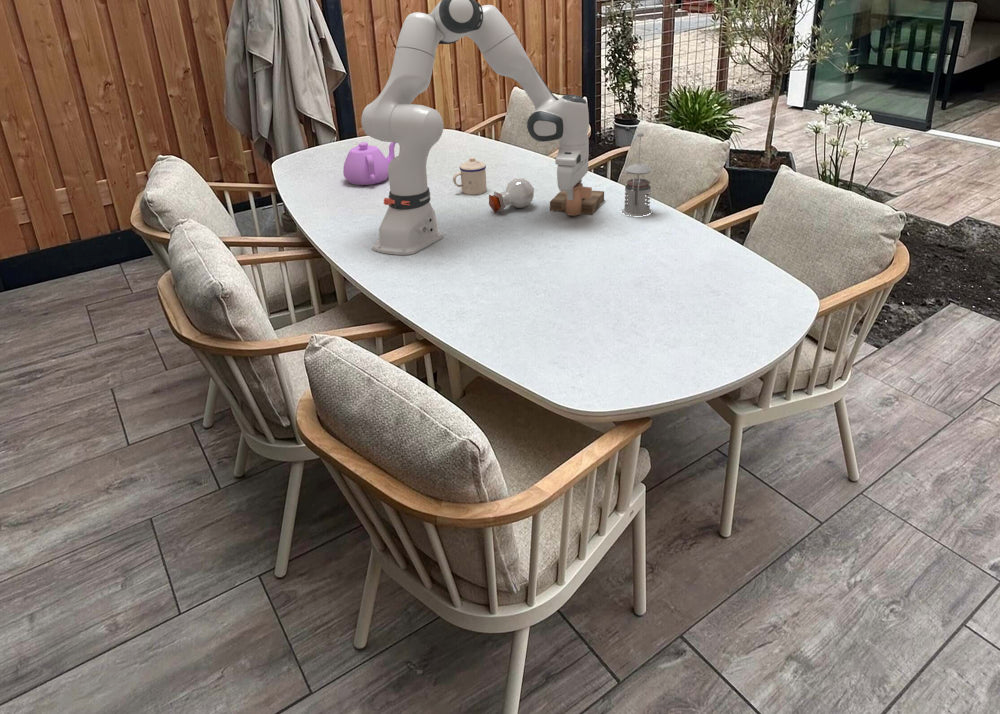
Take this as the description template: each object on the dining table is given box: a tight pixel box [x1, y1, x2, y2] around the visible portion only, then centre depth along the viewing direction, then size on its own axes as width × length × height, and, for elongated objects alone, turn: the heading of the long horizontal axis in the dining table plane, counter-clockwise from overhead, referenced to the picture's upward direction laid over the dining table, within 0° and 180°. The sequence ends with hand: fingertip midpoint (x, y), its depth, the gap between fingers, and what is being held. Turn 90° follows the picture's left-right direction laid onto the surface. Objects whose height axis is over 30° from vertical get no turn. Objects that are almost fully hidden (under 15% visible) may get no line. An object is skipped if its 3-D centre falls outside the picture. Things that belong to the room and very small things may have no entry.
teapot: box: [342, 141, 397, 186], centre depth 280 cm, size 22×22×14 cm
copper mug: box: [565, 182, 593, 217], centre depth 237 cm, size 8×5×9 cm, turn 68°
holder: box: [549, 190, 605, 216], centre depth 248 cm, size 14×14×3 cm
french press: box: [621, 131, 653, 216], centre depth 234 cm, size 10×12×25 cm
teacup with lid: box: [452, 156, 487, 196], centre depth 263 cm, size 12×9×12 cm
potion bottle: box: [488, 178, 535, 214], centre depth 247 cm, size 9×10×15 cm
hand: (573, 196), depth 237 cm, fingers closed on copper mug, 5 cm apart
